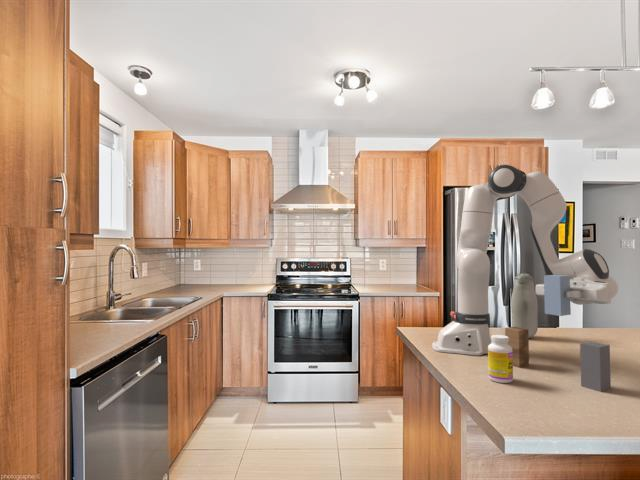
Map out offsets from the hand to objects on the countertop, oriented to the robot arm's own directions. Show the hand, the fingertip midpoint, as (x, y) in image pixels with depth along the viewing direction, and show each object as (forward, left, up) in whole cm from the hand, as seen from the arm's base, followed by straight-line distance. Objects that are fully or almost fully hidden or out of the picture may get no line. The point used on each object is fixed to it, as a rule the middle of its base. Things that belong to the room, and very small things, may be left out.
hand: (555, 293), depth 119 cm
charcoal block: (+6, -11, -25) cm, 28 cm away
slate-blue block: (+1, +1, -6) cm, 7 cm away
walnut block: (-9, +8, -25) cm, 28 cm away
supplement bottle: (-18, -9, -25) cm, 33 cm away
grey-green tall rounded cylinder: (+5, +51, -25) cm, 57 cm away
